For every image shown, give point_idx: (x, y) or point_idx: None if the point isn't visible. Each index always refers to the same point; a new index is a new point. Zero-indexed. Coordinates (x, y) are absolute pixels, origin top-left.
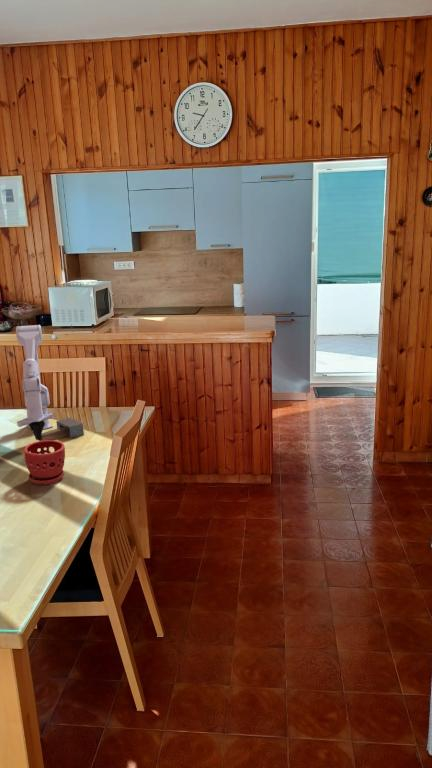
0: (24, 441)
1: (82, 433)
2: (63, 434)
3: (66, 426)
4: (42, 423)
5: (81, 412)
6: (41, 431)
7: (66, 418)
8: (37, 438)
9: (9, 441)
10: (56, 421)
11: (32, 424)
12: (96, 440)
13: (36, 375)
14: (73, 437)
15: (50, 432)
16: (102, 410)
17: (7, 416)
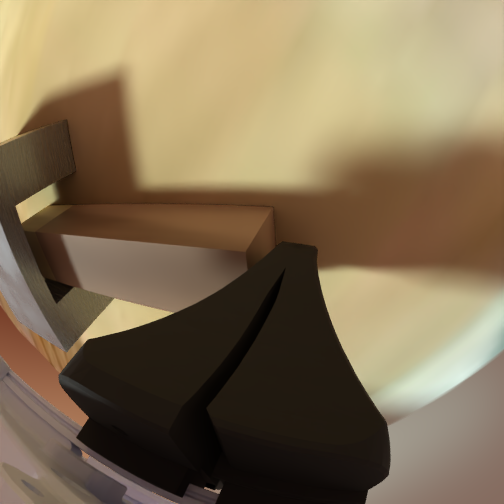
0: (357, 357)
1: (10, 138)
2: (80, 212)
3: (3, 209)
4: (93, 391)
5: (50, 351)
6: (223, 293)
7: (26, 325)
8: (316, 262)
9: (403, 407)
10: (68, 349)
11: (330, 501)
12: (8, 9)
13: None
14: (50, 124)
15: (135, 263)
16: (9, 309)
17: None
